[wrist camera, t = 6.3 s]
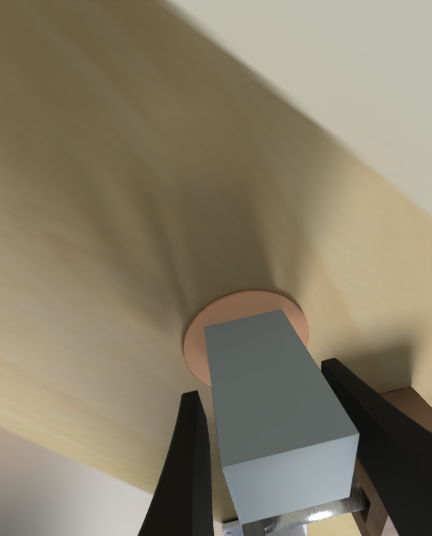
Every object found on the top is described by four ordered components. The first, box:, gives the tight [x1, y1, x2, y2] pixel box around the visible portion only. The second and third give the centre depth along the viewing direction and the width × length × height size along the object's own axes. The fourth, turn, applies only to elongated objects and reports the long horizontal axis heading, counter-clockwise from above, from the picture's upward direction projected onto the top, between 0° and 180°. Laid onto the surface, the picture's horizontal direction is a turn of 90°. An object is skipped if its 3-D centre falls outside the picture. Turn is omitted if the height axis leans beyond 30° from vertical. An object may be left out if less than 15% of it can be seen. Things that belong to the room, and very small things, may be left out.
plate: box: [184, 290, 309, 386], centre depth 13 cm, size 7×7×1 cm
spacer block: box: [204, 309, 359, 525], centre depth 10 cm, size 4×4×6 cm
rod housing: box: [351, 387, 432, 536], centre depth 16 cm, size 7×6×6 cm
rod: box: [242, 471, 371, 536], centre depth 16 cm, size 4×8×4 cm, turn 100°
